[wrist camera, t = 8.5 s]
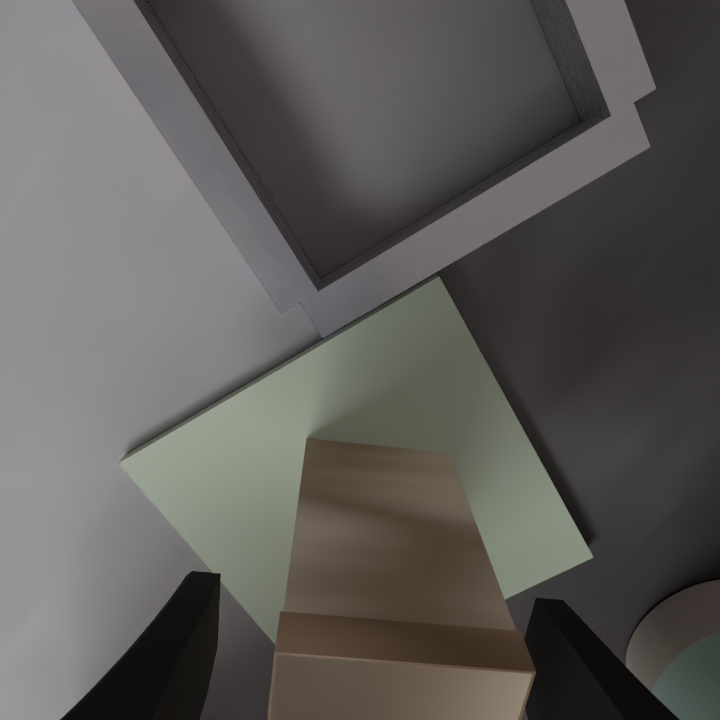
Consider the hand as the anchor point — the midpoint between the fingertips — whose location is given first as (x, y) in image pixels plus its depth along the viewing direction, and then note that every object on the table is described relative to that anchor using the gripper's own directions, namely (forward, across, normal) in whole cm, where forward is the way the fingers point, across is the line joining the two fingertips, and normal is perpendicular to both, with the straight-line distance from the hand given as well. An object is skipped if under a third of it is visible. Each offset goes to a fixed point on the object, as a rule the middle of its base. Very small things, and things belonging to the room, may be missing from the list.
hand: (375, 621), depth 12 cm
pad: (+4, 0, 0) cm, 4 cm away
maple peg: (+4, 0, 0) cm, 4 cm away
